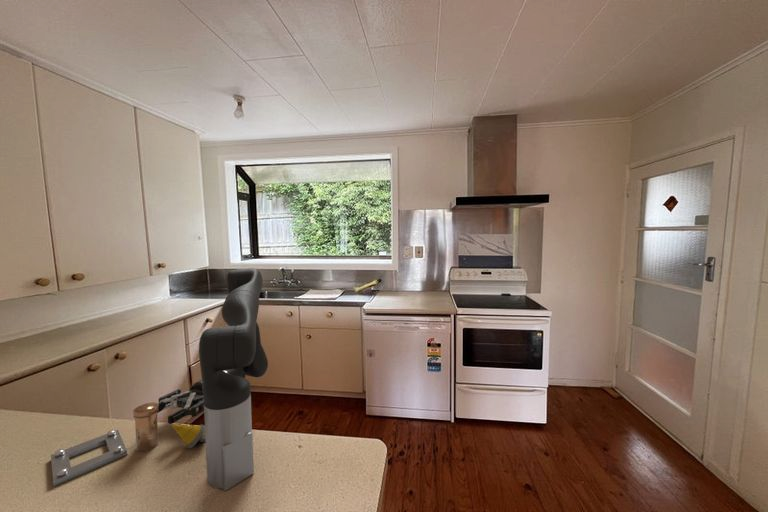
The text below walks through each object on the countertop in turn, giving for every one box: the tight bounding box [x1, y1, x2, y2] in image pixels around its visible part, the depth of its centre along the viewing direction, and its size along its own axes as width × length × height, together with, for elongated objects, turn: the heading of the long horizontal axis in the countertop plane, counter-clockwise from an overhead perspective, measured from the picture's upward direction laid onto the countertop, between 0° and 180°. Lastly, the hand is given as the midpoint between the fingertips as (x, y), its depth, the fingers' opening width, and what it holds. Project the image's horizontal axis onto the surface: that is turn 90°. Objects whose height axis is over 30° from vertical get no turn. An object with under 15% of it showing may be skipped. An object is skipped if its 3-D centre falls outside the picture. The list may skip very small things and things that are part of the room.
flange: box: [50, 429, 128, 488], centre depth 71 cm, size 12×12×2 cm
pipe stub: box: [132, 401, 159, 453], centre depth 75 cm, size 5×5×10 cm
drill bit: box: [171, 423, 206, 450], centre depth 75 cm, size 5×5×10 cm
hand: (157, 417), depth 77 cm, fingers open, 8 cm apart
